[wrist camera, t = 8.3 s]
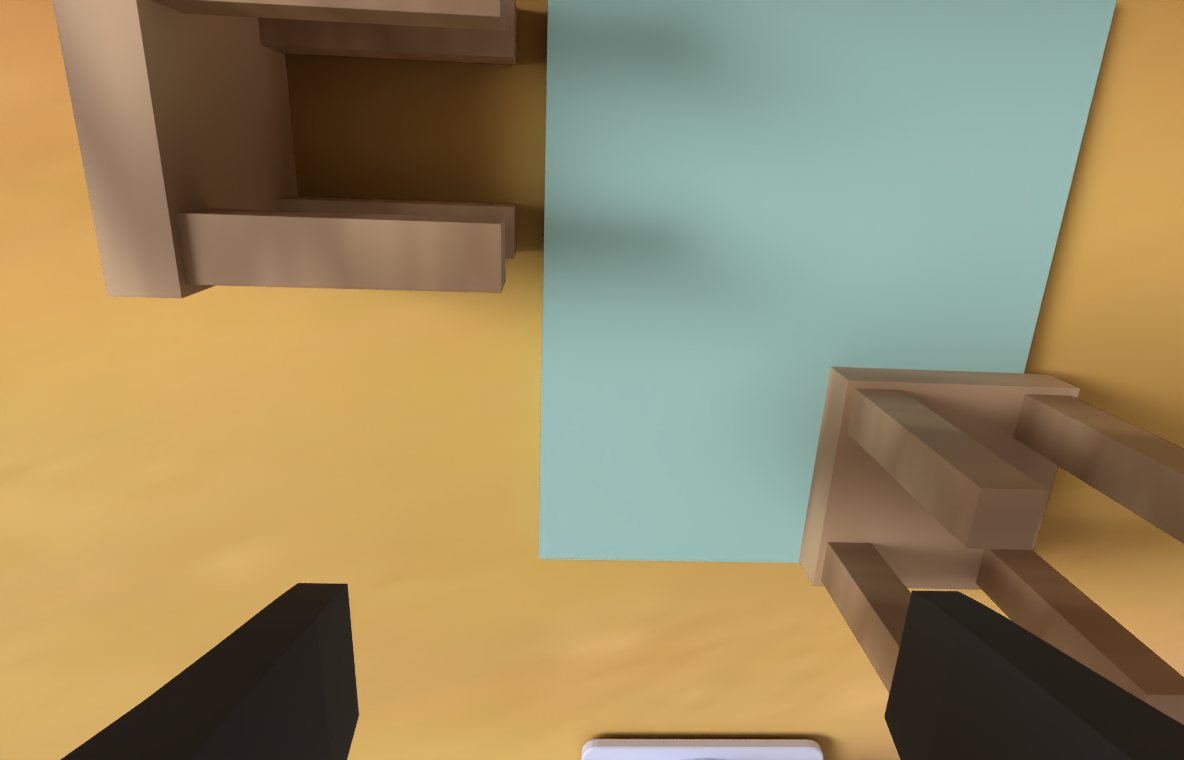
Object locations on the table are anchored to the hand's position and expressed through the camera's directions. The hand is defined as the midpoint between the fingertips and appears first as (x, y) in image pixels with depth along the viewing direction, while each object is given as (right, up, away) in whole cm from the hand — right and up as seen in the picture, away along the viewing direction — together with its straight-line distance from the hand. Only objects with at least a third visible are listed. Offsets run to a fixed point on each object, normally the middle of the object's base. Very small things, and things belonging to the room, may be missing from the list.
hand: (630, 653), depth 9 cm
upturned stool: (+9, +1, +10) cm, 14 cm away
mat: (+5, +6, +9) cm, 12 cm away
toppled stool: (-2, +9, +5) cm, 10 cm away
